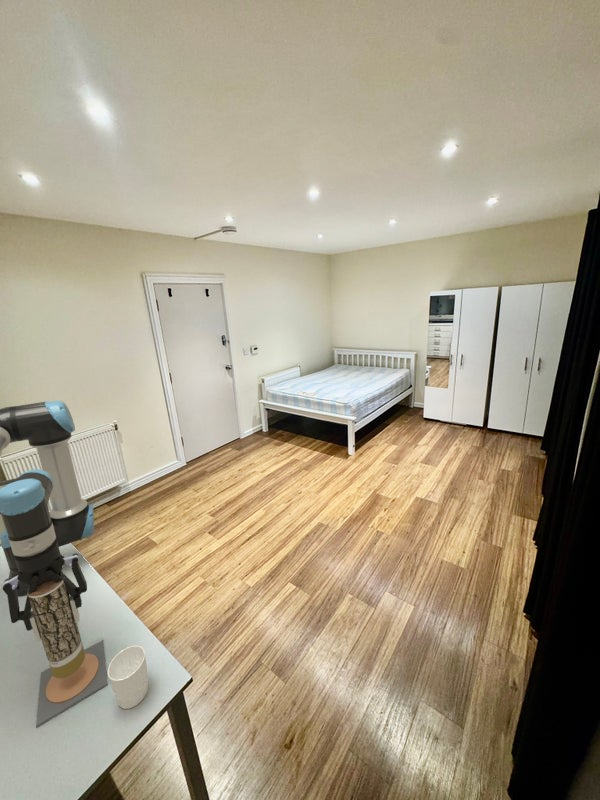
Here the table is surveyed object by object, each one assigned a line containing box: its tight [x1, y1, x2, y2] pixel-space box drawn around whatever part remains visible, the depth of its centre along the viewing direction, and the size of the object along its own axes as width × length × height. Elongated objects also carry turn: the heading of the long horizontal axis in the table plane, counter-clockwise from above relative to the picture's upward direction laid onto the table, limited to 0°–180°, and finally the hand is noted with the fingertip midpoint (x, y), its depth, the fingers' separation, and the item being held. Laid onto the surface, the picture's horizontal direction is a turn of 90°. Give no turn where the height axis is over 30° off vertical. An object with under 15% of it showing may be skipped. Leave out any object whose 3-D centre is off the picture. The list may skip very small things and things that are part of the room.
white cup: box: [107, 645, 150, 710], centre depth 74 cm, size 8×8×10 cm
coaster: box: [35, 639, 109, 728], centre depth 79 cm, size 14×14×1 cm
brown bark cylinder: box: [27, 575, 85, 679], centre depth 75 cm, size 7×7×25 cm
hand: (58, 627), depth 75 cm, fingers closed on brown bark cylinder, 7 cm apart
